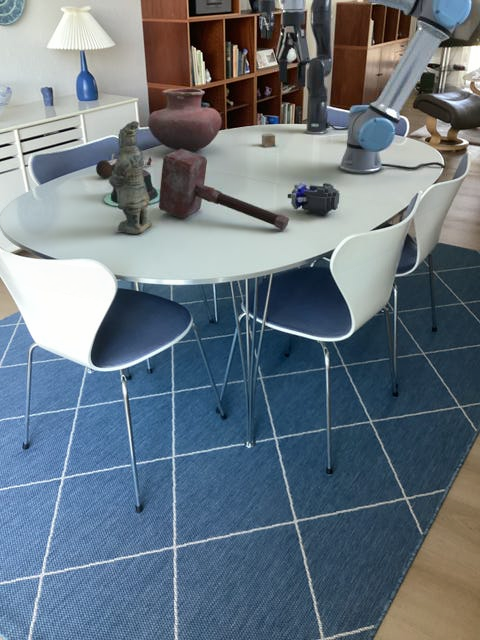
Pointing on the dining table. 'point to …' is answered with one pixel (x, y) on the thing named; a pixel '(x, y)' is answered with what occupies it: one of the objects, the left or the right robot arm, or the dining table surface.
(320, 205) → the toy
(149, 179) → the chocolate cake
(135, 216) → the statue
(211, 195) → the sledgehammer
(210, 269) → the dining table surface
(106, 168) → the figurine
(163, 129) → the clay pot
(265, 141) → the block
